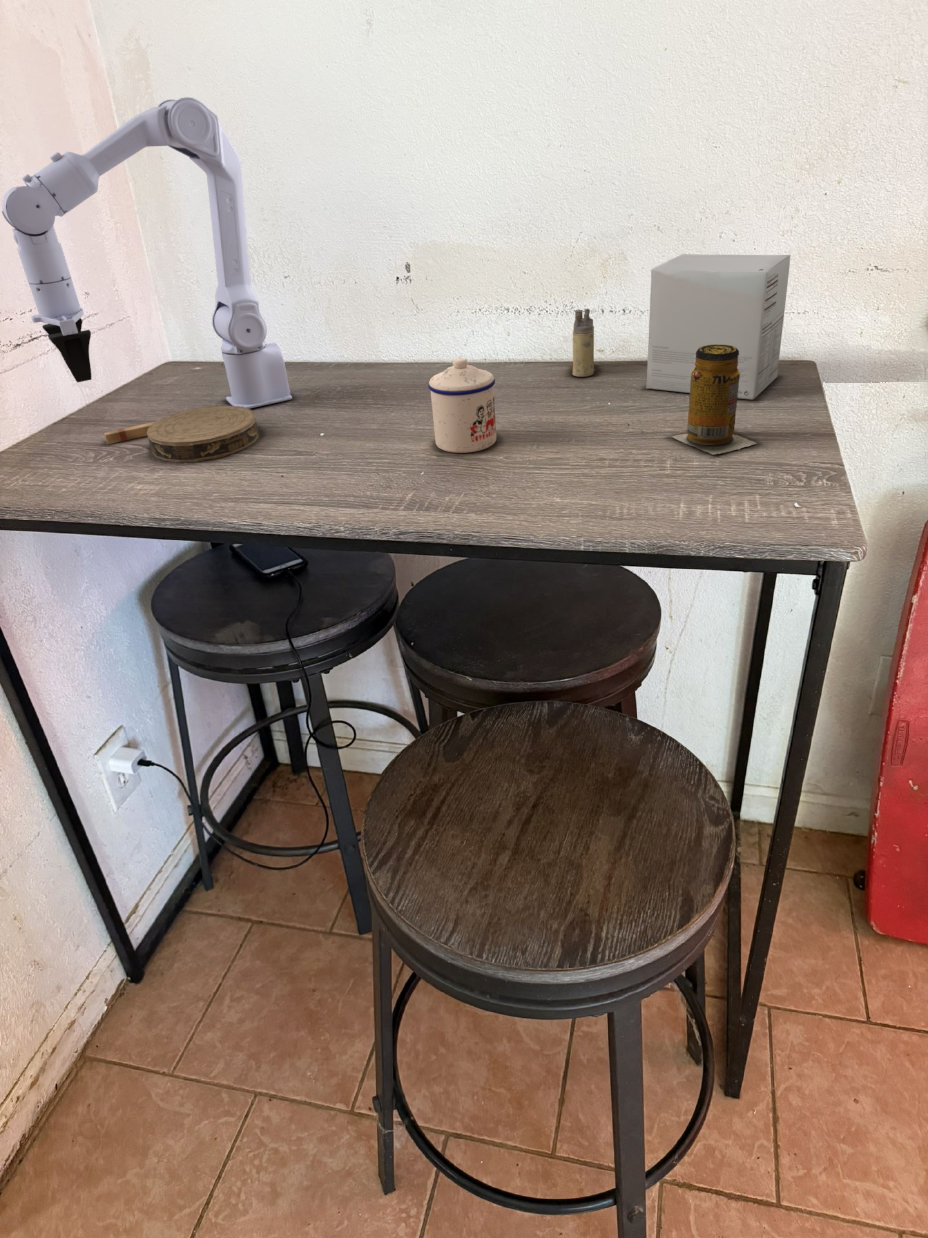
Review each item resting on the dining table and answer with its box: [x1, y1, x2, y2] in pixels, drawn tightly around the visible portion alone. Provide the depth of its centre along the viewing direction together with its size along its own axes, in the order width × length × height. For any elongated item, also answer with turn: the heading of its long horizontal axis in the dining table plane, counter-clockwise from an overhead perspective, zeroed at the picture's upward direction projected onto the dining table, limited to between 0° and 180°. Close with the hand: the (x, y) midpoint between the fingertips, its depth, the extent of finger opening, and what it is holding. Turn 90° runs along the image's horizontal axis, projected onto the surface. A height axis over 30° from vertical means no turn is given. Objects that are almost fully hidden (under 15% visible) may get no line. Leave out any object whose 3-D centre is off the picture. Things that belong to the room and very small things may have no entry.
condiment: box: [671, 344, 757, 455], centre depth 109 cm, size 7×8×12 cm
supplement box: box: [645, 253, 791, 400], centre depth 128 cm, size 17×13×18 cm
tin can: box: [146, 405, 260, 463], centre depth 126 cm, size 16×16×3 cm
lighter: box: [572, 307, 597, 378], centre depth 141 cm, size 7×4×10 cm, turn 171°
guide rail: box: [103, 420, 158, 445], centre depth 133 cm, size 18×1×2 cm, turn 118°
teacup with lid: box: [428, 357, 497, 454], centre depth 117 cm, size 12×9×12 cm
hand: (80, 374), depth 128 cm, fingers open, 7 cm apart
